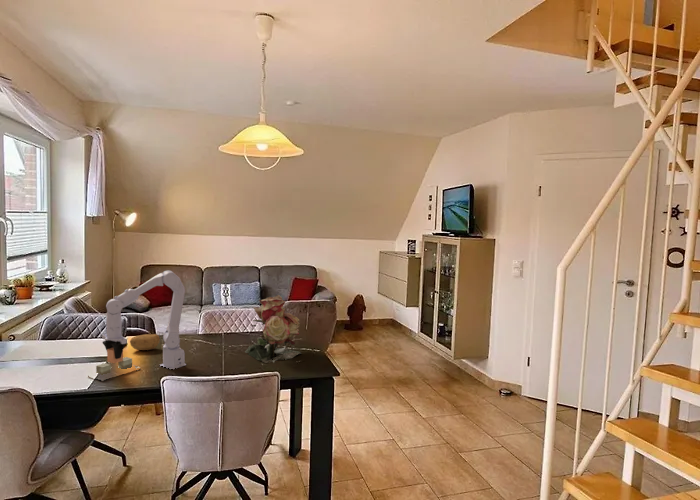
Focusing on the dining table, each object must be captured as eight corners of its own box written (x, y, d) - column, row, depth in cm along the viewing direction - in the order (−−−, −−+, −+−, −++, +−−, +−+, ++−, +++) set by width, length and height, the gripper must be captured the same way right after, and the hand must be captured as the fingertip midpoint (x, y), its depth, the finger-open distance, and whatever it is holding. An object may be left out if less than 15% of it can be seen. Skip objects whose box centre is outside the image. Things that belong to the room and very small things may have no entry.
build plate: (140, 369, 202) (140, 358, 201) (101, 381, 186) (101, 370, 185) (126, 365, 206) (126, 354, 206) (87, 377, 191) (87, 365, 190)
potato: (130, 348, 231) (130, 333, 231) (160, 346, 236) (160, 331, 236) (128, 354, 222) (128, 338, 222) (159, 352, 227) (159, 336, 227)
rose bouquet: (267, 366, 210) (268, 303, 208) (239, 351, 232) (240, 294, 230) (312, 356, 227) (313, 298, 224) (282, 343, 249) (283, 289, 247)
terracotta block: (123, 360, 197) (122, 348, 196) (113, 363, 193) (113, 351, 193) (116, 358, 199) (116, 346, 199) (107, 361, 195) (107, 349, 195)
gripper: (95, 326, 195) (95, 356, 196) (115, 331, 188) (116, 362, 189) (110, 323, 201) (111, 352, 202) (131, 327, 194) (131, 358, 195)
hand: (114, 357), depth 196 cm, fingers closed on terracotta block, 4 cm apart
